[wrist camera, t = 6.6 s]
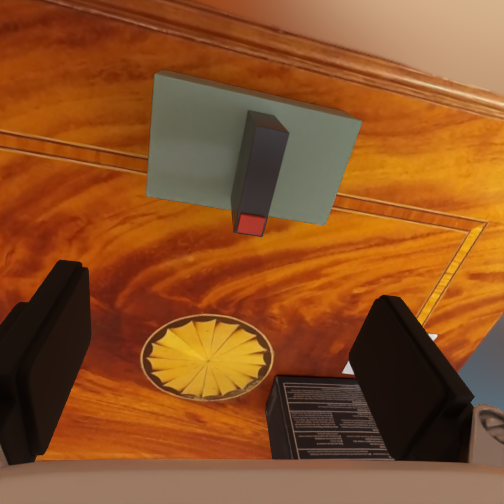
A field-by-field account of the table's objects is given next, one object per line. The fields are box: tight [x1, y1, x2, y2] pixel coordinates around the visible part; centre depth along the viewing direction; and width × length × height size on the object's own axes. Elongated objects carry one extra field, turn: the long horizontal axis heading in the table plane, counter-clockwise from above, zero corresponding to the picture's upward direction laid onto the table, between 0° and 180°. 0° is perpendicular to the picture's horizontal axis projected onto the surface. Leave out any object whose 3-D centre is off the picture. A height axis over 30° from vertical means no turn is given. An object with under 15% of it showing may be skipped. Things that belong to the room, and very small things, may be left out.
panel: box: [146, 70, 362, 226], centre depth 22 cm, size 12×7×4 cm, turn 78°
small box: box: [265, 376, 395, 461], centre depth 34 cm, size 11×6×10 cm, turn 80°
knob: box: [230, 110, 290, 237], centre depth 19 cm, size 6×2×5 cm, turn 168°
